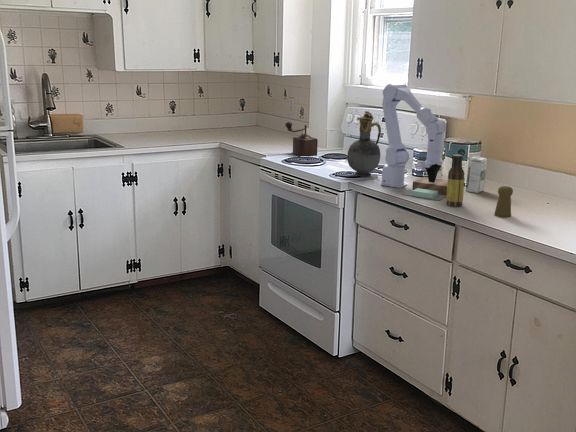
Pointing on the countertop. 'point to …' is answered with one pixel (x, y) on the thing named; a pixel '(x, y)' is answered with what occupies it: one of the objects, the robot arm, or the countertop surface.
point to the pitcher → (364, 148)
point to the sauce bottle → (455, 182)
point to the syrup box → (476, 174)
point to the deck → (431, 185)
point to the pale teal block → (424, 193)
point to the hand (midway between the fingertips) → (431, 182)
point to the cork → (504, 202)
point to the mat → (424, 197)
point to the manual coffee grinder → (303, 143)
